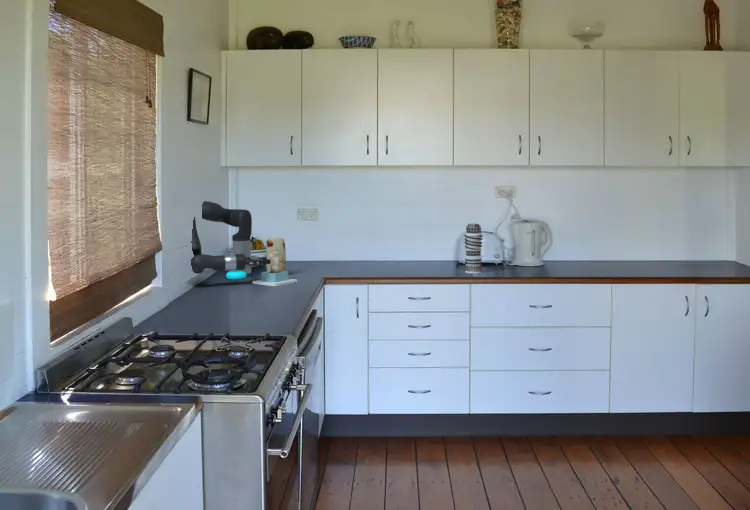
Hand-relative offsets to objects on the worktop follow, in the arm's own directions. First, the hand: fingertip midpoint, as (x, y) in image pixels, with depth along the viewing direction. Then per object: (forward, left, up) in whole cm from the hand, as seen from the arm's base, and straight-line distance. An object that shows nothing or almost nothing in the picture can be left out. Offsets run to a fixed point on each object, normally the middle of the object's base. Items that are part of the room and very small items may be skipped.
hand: (268, 260), depth 349 cm
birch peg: (+2, +2, -10) cm, 10 cm away
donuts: (-25, +3, -11) cm, 28 cm away
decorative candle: (+66, +82, -11) cm, 106 cm away
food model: (-11, +17, -11) cm, 24 cm away
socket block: (+2, +2, -11) cm, 11 cm away
